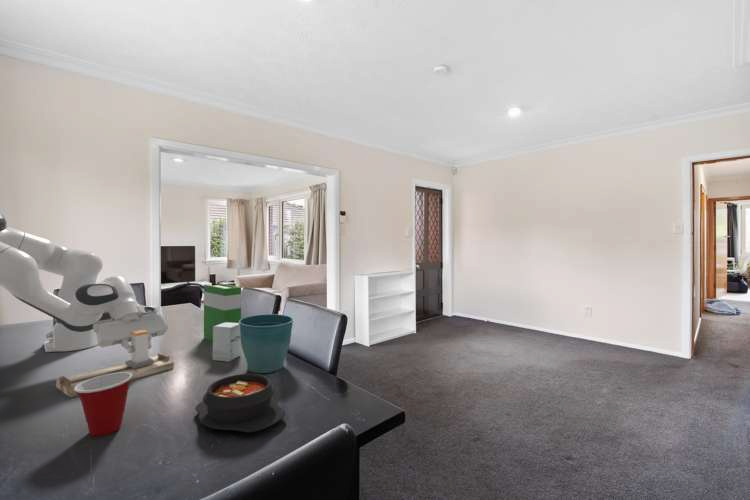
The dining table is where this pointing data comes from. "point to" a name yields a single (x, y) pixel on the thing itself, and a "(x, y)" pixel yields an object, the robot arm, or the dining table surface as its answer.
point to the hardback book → (220, 306)
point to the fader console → (159, 365)
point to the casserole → (240, 404)
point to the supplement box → (226, 341)
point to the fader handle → (139, 350)
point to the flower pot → (265, 341)
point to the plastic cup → (104, 401)
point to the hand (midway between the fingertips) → (140, 349)
